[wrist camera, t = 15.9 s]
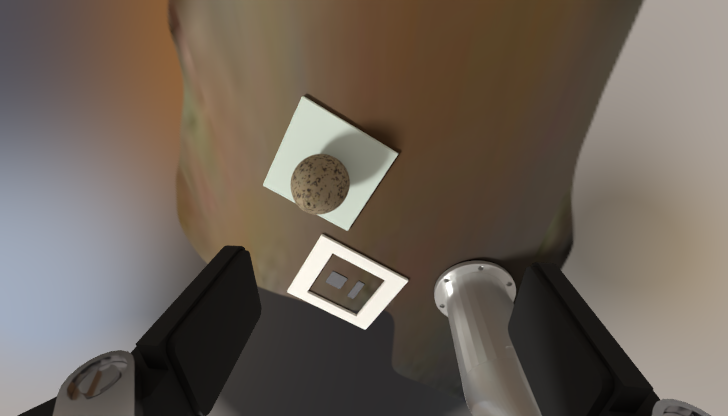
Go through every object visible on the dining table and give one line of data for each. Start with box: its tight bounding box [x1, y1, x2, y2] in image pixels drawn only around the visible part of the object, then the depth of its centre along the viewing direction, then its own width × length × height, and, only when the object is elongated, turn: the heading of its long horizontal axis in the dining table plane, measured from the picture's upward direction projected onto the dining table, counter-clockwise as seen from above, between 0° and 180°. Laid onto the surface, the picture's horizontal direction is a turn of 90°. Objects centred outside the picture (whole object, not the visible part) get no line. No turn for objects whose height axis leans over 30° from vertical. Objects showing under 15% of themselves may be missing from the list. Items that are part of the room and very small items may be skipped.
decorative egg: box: [290, 154, 350, 214], centre depth 36 cm, size 7×7×10 cm
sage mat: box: [263, 96, 398, 231], centre depth 40 cm, size 14×14×1 cm
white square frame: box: [287, 234, 408, 330], centre depth 50 cm, size 16×14×1 cm
